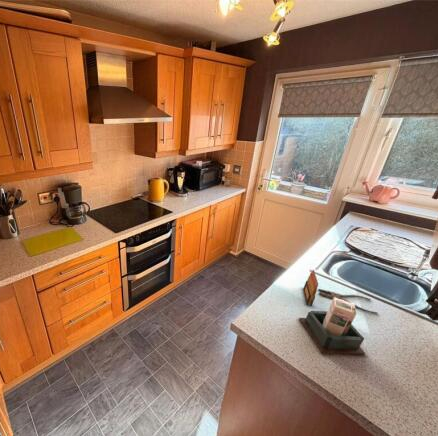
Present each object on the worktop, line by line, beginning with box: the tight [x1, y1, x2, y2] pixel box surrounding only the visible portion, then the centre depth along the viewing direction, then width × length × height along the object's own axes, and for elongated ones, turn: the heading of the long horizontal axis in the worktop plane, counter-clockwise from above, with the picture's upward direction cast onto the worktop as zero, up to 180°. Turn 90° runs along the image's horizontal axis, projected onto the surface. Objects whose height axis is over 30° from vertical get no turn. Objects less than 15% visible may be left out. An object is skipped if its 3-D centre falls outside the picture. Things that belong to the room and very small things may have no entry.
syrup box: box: [322, 297, 357, 336], centre depth 80 cm, size 6×6×14 cm
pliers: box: [317, 288, 378, 315], centre depth 99 cm, size 10×1×20 cm
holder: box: [298, 310, 366, 356], centre depth 83 cm, size 14×14×6 cm
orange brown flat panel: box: [302, 269, 319, 307], centre depth 99 cm, size 11×2×12 cm, turn 155°
